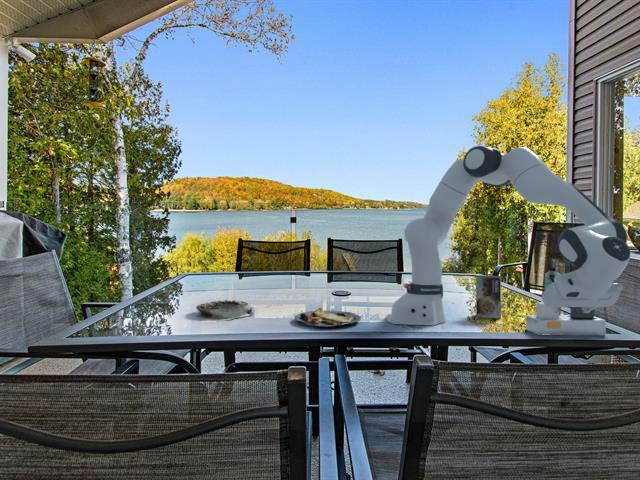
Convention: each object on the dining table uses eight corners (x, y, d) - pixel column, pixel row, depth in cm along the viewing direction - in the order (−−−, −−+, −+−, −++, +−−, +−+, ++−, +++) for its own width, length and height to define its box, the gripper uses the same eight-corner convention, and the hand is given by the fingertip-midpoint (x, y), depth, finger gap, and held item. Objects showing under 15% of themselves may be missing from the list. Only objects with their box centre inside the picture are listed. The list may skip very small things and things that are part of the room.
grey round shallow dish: (206, 325, 157) (206, 312, 157) (176, 315, 178) (176, 303, 178) (268, 314, 176) (268, 302, 176) (235, 306, 196) (234, 295, 196)
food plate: (282, 321, 161) (282, 312, 160) (323, 312, 178) (323, 304, 178) (332, 334, 144) (332, 324, 143) (372, 323, 161) (372, 314, 161)
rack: (538, 335, 138) (538, 305, 138) (526, 329, 147) (526, 300, 146) (606, 335, 138) (606, 305, 138) (590, 329, 146) (590, 300, 146)
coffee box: (501, 316, 169) (501, 275, 168) (500, 319, 163) (501, 277, 162) (477, 314, 173) (477, 274, 172) (475, 317, 167) (475, 276, 166)
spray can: (562, 321, 158) (563, 268, 157) (546, 321, 159) (547, 268, 159) (557, 318, 164) (558, 267, 163) (542, 317, 165) (542, 266, 164)
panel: (540, 330, 141) (541, 303, 141) (536, 328, 144) (536, 302, 144) (558, 330, 141) (559, 303, 141) (553, 328, 144) (554, 302, 144)
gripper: (620, 275, 122) (598, 302, 132) (549, 275, 122) (533, 303, 132) (631, 292, 118) (608, 319, 128) (558, 293, 118) (540, 320, 128)
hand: (569, 311), depth 130 cm, fingers open, 8 cm apart
